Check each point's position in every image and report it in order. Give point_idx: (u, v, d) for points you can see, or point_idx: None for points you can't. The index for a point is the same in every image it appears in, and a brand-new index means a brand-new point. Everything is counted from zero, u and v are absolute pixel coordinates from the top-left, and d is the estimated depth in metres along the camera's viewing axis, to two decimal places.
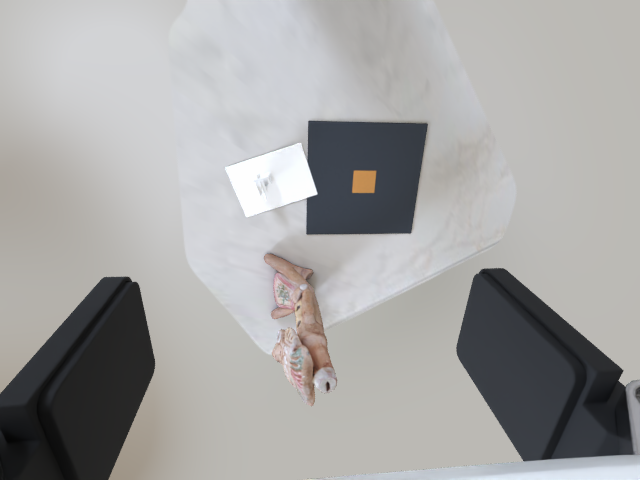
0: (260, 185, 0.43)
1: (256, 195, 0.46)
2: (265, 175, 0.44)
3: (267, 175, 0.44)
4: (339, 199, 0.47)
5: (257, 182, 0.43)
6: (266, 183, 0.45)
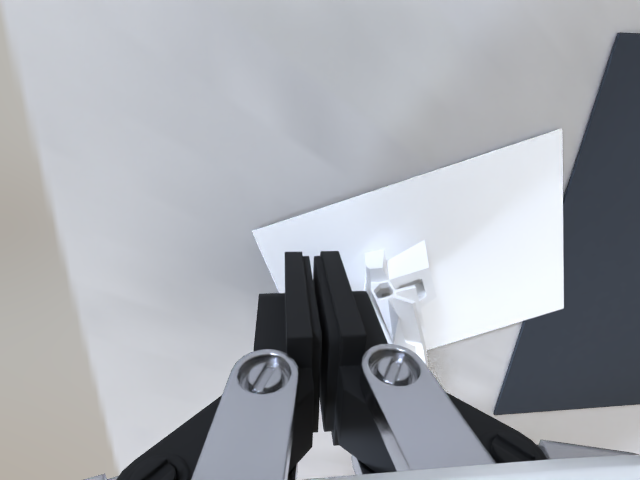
0: (409, 315, 0.10)
1: None
2: (413, 262, 0.11)
3: (423, 263, 0.11)
4: (623, 319, 0.14)
5: (397, 302, 0.10)
6: (403, 283, 0.12)
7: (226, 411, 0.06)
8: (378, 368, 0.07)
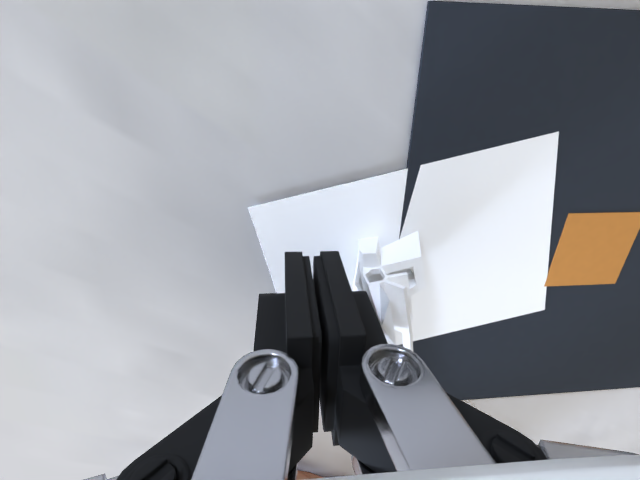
0: (399, 301, 0.10)
1: None
2: (406, 250, 0.11)
3: (415, 252, 0.11)
4: None
5: (389, 287, 0.10)
6: (394, 272, 0.12)
7: (226, 411, 0.06)
8: (378, 368, 0.07)
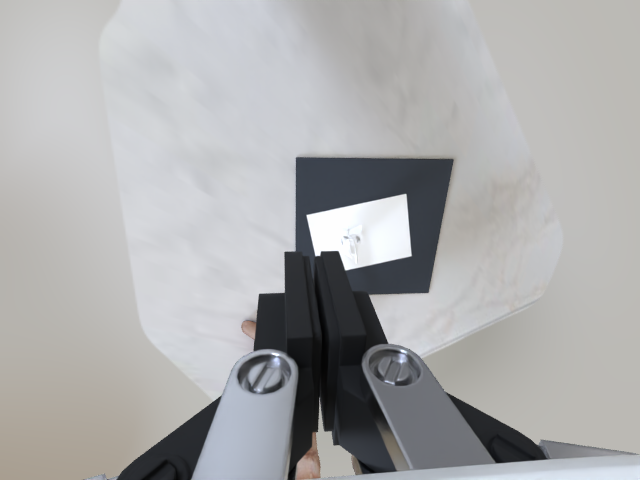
0: (353, 244, 0.33)
1: None
2: (357, 230, 0.35)
3: (360, 231, 0.35)
4: None
5: (350, 240, 0.33)
6: None
7: (226, 411, 0.06)
8: (378, 368, 0.07)
